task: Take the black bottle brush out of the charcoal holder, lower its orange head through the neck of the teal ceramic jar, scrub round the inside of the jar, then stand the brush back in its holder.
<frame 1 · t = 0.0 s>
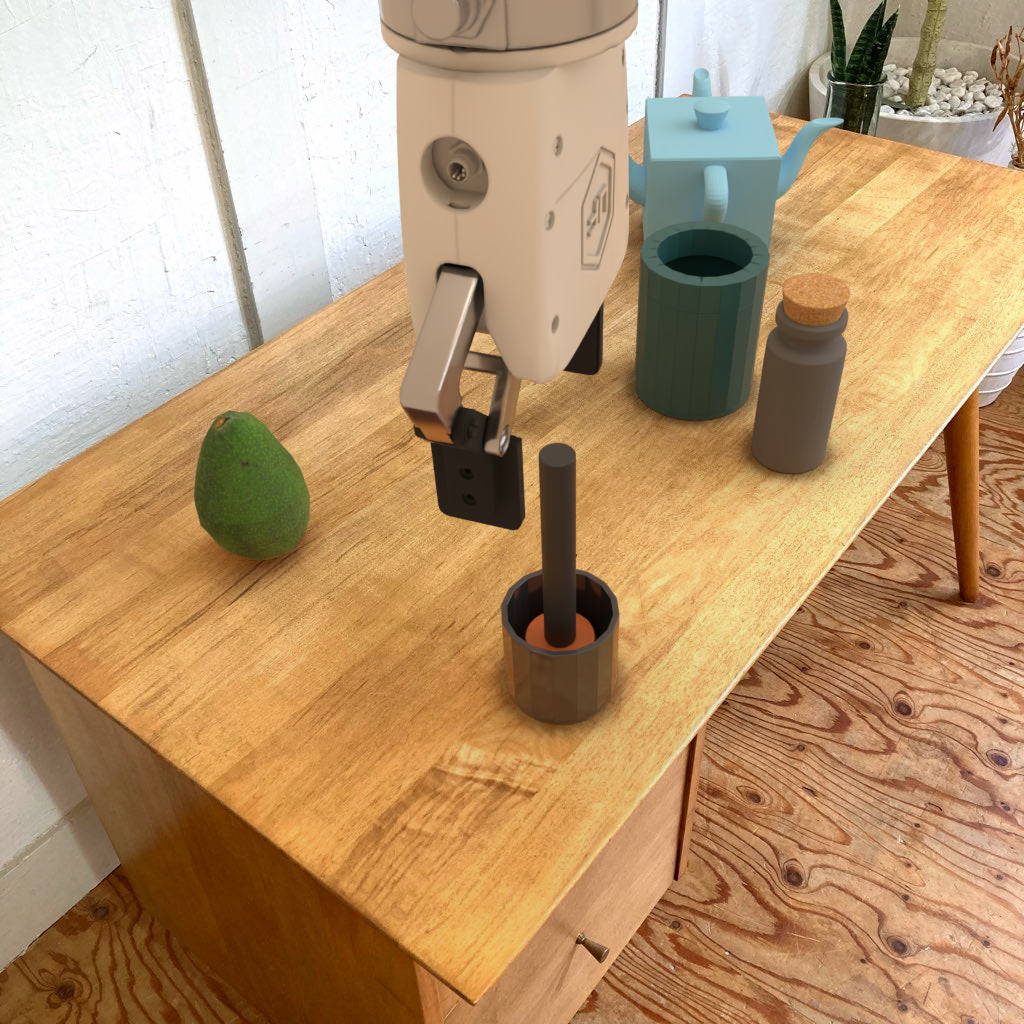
hand: (526, 436, 42), 29 cm above the table, tool pointing down, fingers open, 9 cm apart
holder: (560, 679, 69), on the table
teakettle: (698, 240, 110), on the table
fruit: (267, 548, 80), on the table
bottle: (787, 452, 85), on the table
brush: (560, 674, 69), resting on holder
jar: (692, 384, 92), on the table
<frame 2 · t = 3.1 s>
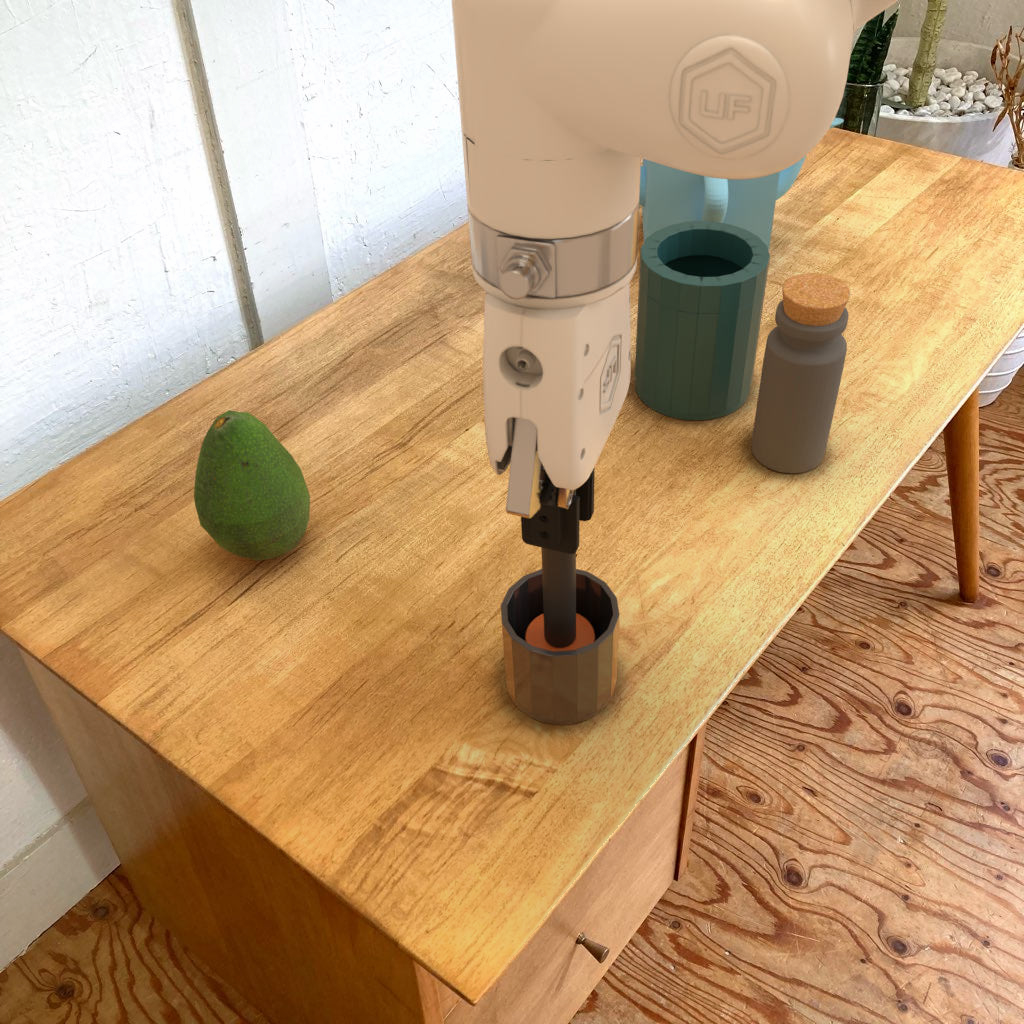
hand: (558, 527, 60), 14 cm above the table, tool pointing down, fingers closed on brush, 2 cm apart
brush: (560, 674, 69), point 1 cm above the table, touching gripper, holder
everything else where it was.
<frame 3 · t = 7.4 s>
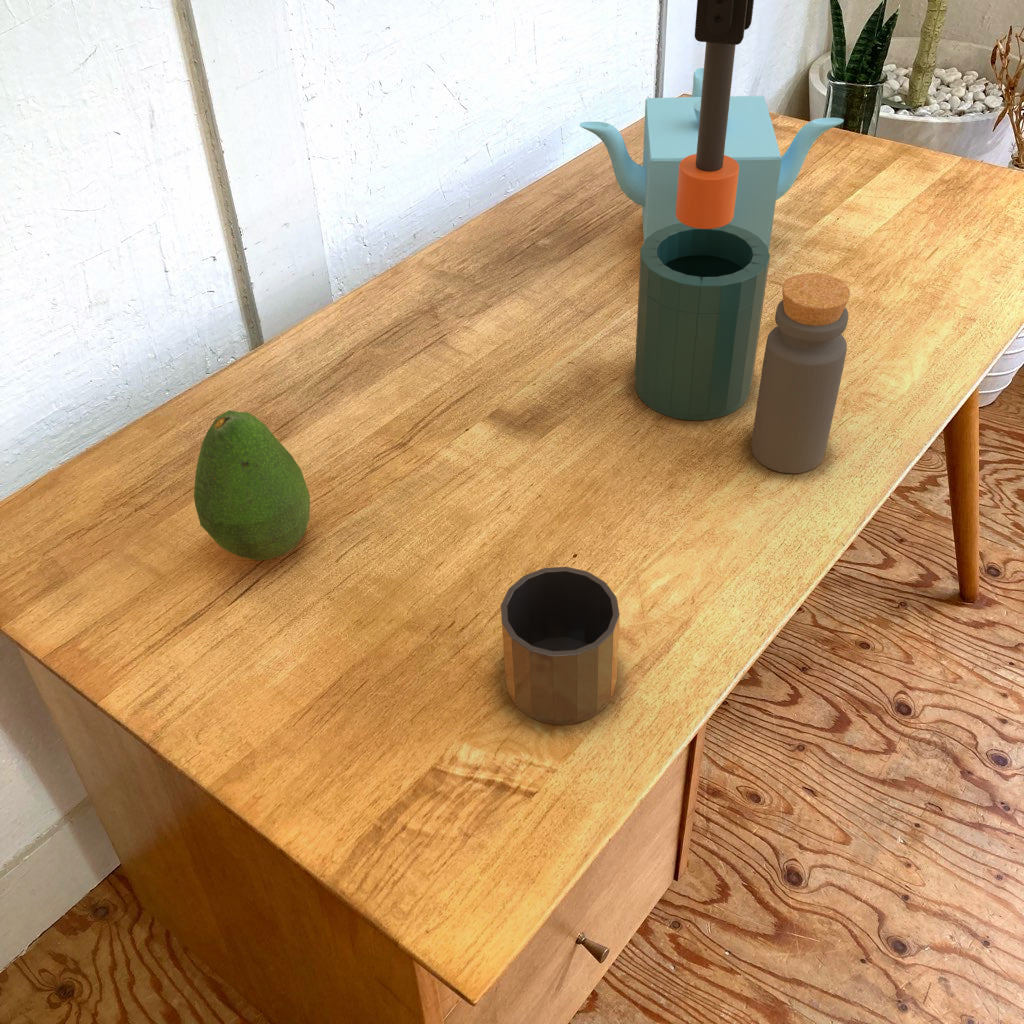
hand: (723, 32, 71), 30 cm above the table, tool pointing down, fingers closed on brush
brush: (704, 215, 81), point 16 cm above the table, touching gripper
everything else where it was.
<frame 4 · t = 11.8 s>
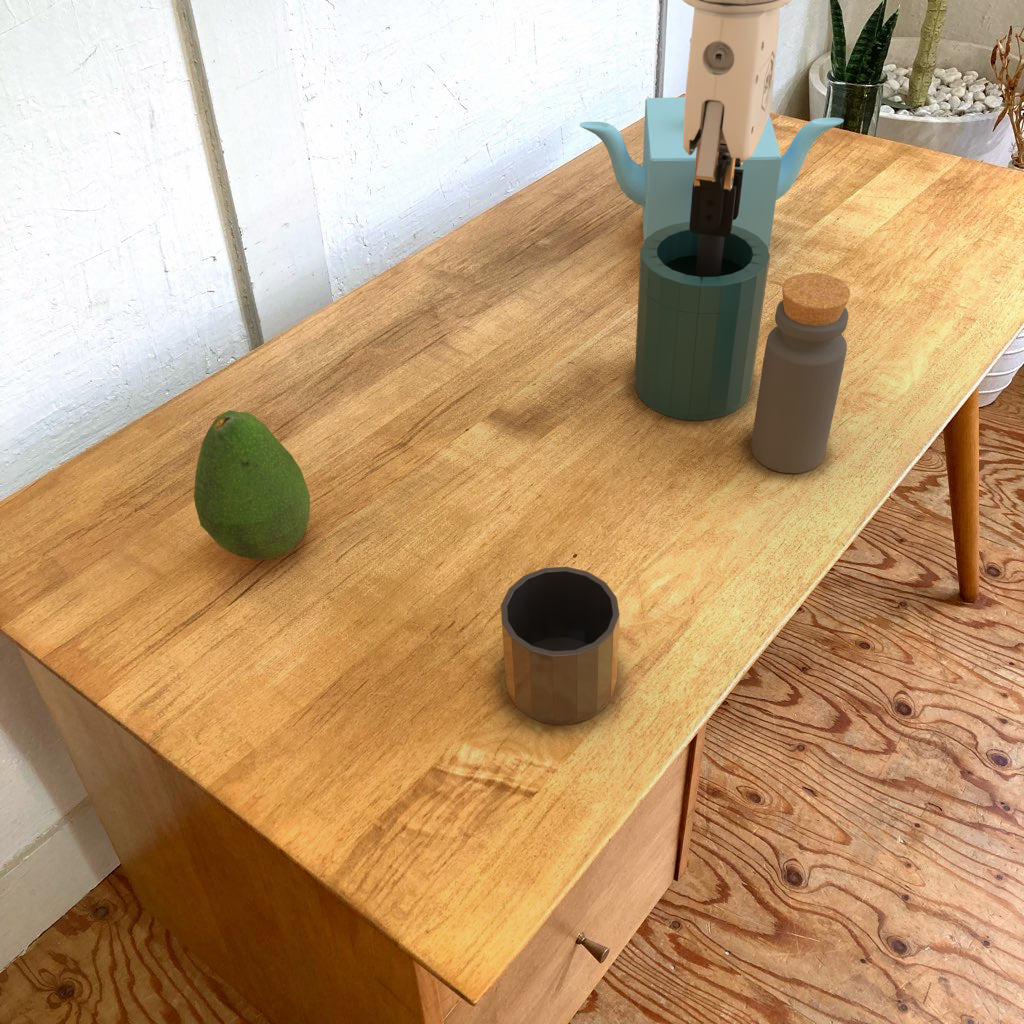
hand: (713, 223, 82), 15 cm above the table, tool pointing down, fingers closed on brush, 2 cm apart
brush: (699, 364, 92), point 1 cm above the table, touching gripper
everything else where it was.
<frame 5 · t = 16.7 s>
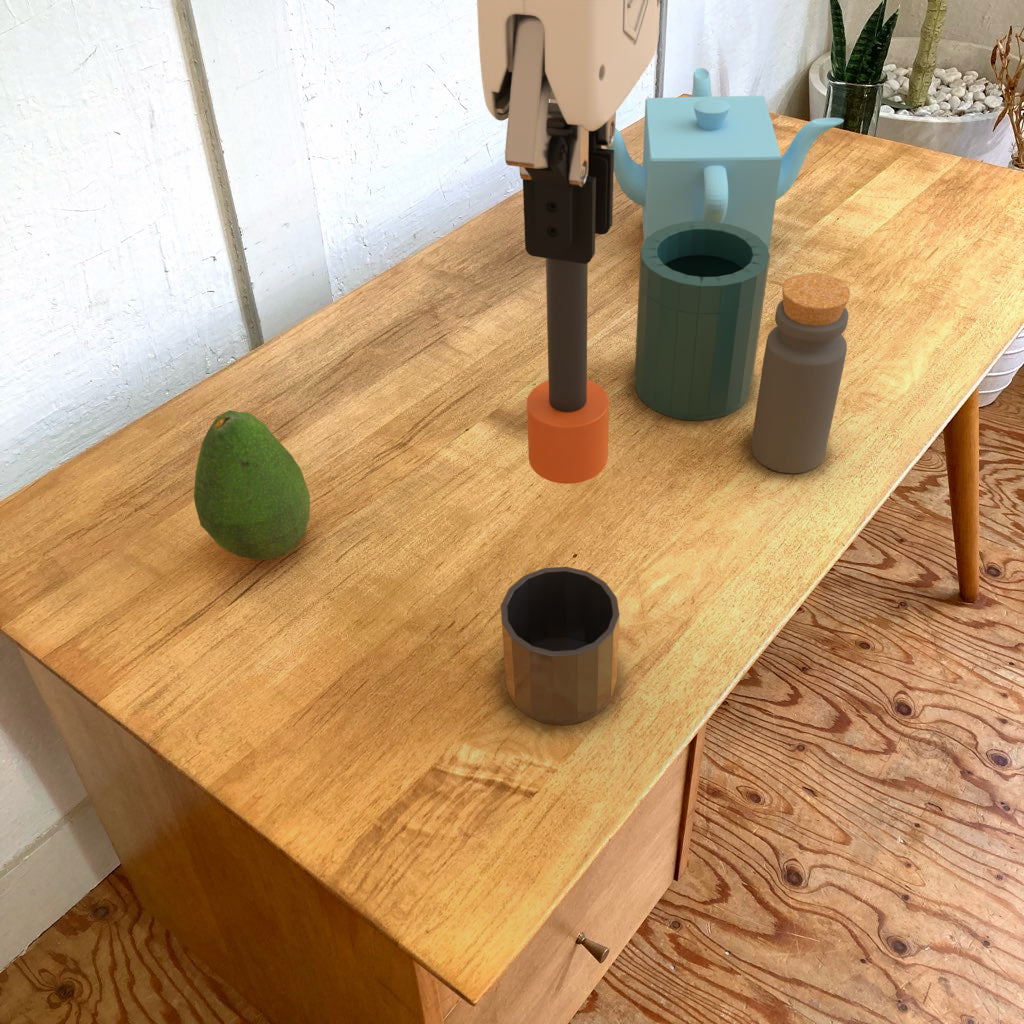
hand: (569, 239, 49), 31 cm above the table, tool pointing down, fingers closed on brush
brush: (568, 457, 59), point 17 cm above the table, touching gripper
everything else where it was.
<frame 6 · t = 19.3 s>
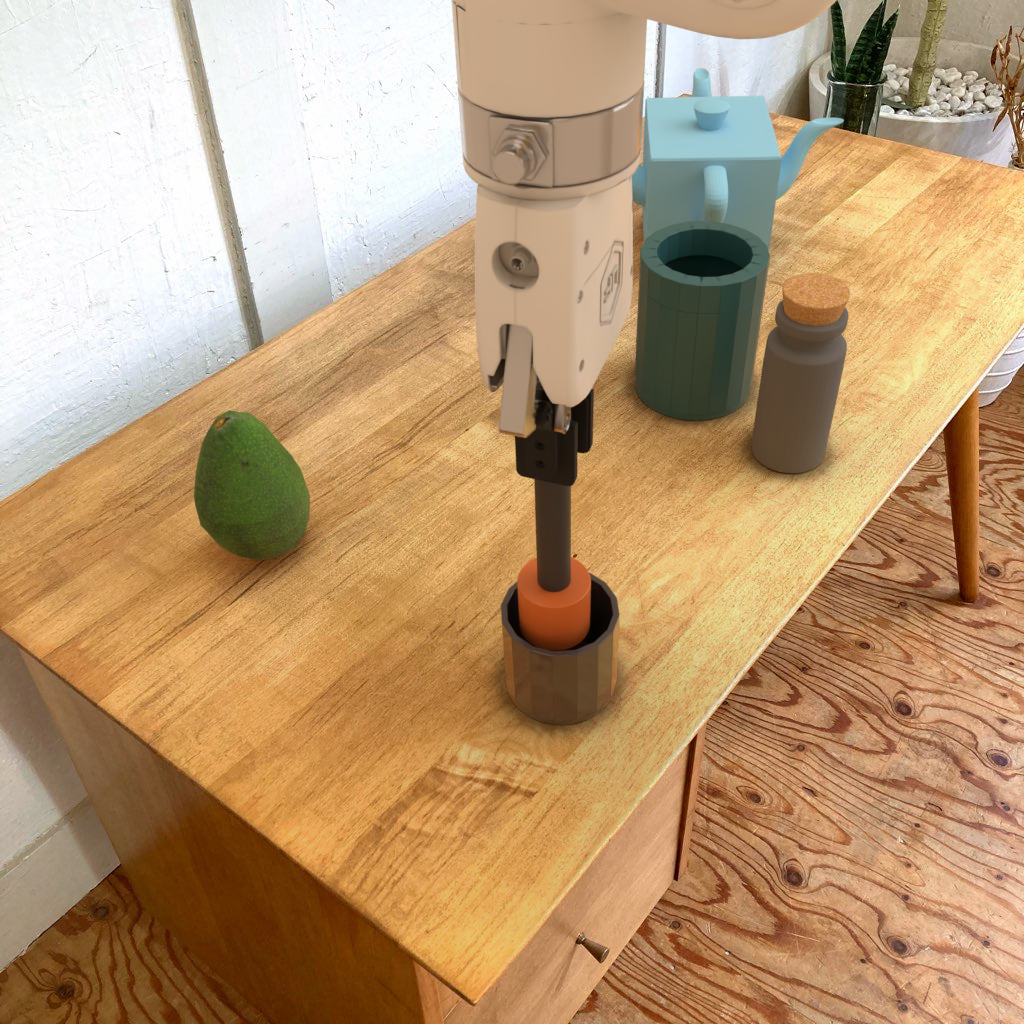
hand: (555, 459, 56), 19 cm above the table, tool pointing down, fingers closed on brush
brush: (554, 623, 65), point 6 cm above the table, touching gripper
everything else where it was.
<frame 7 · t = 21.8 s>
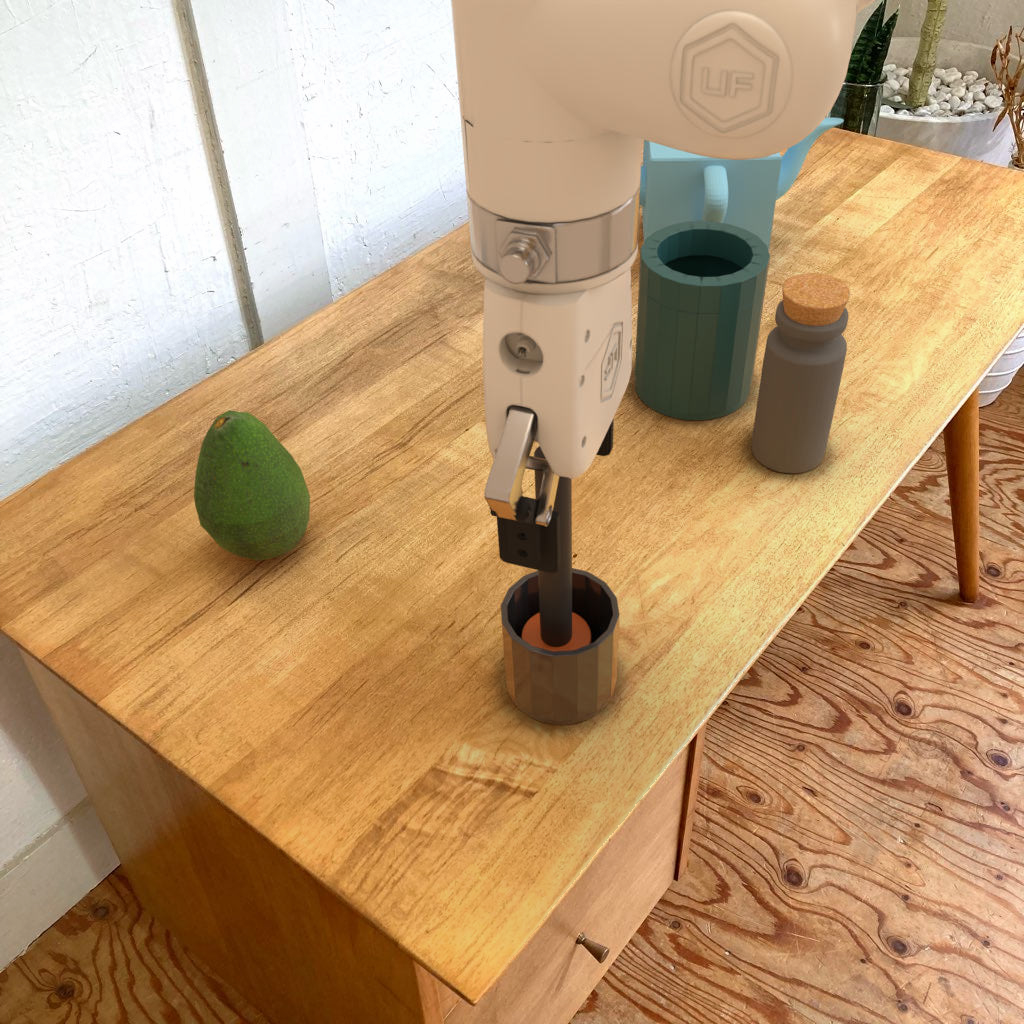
hand: (559, 503, 58), 16 cm above the table, tool pointing down, fingers open, 9 cm apart
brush: (557, 674, 69), resting on holder
everything else where it was.
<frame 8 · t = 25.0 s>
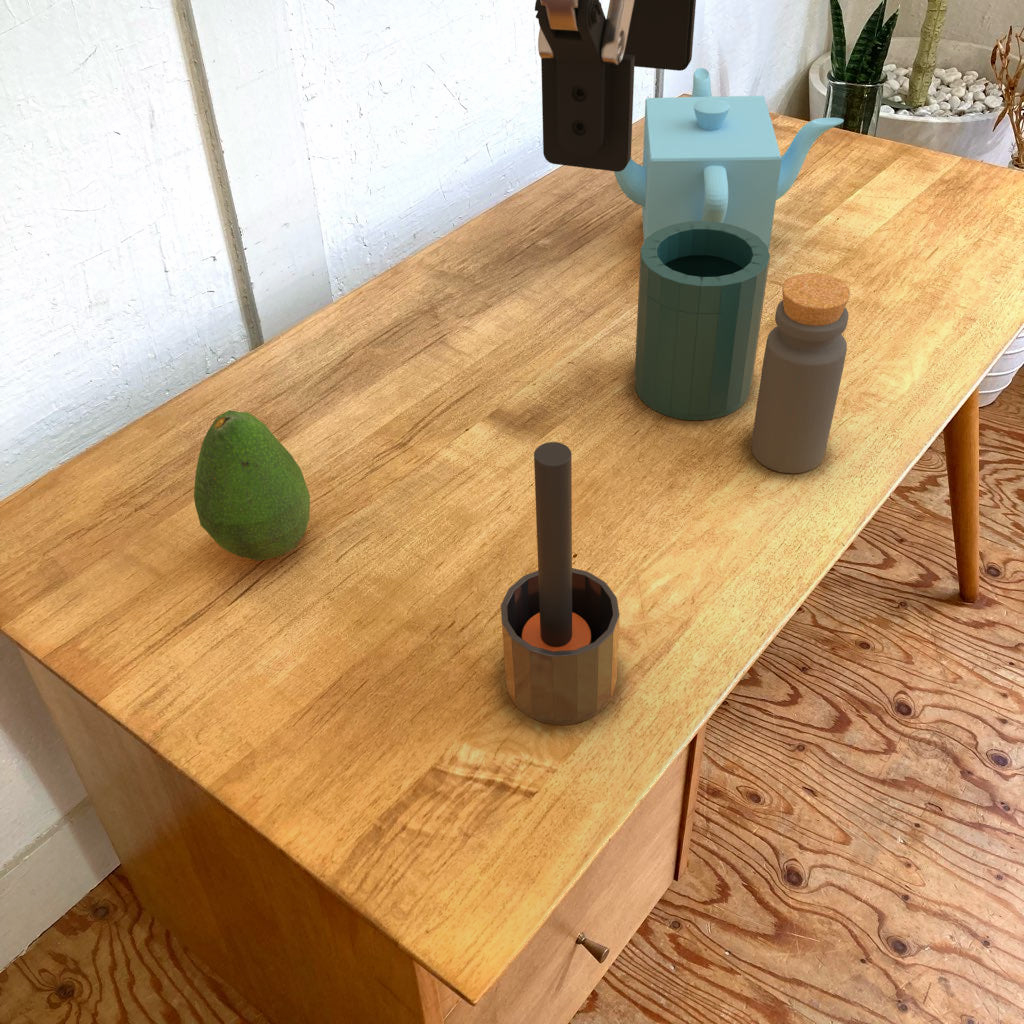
hand: (622, 111, 42), 38 cm above the table, tool pointing down, fingers open, 9 cm apart
nothing on the table moved.
at the end: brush 0.3 cm off-centre in the holder, point 0.5 cm above the holder's base; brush tilted 0°; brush touching holder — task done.
